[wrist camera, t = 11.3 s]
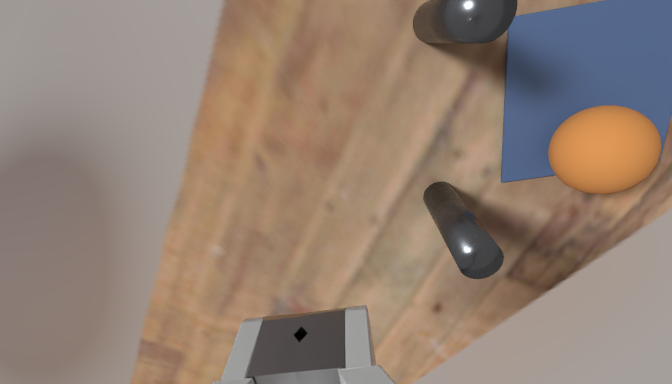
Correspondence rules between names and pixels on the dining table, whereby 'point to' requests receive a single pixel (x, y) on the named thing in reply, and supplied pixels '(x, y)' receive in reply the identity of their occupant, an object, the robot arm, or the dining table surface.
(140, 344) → the dining table surface
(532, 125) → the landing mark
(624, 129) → the ball
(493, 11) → the near post
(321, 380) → the robot arm
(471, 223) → the far post
